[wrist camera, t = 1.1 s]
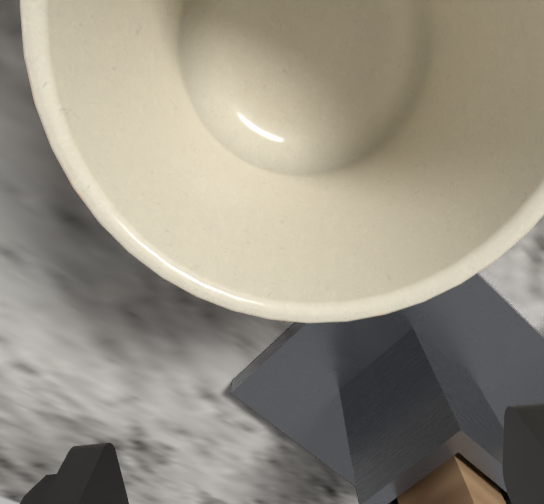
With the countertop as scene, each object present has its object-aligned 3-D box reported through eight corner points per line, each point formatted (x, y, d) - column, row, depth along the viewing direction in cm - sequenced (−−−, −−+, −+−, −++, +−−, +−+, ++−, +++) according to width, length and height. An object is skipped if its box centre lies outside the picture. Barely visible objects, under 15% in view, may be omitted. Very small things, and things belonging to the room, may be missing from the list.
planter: (503, -136, 27) (738, -321, 13) (437, 218, 34) (545, 338, 20) (129, -160, 27) (-29, -374, 13) (143, 201, 34) (50, 310, 20)
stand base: (414, 211, 34) (477, 289, 23) (579, 371, 38) (695, 499, 28) (232, 380, 39) (214, 509, 28) (396, 504, 43) (434, 656, 33)
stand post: (411, 352, 36) (505, 572, 21) (452, 388, 37) (569, 621, 22) (366, 390, 37) (424, 622, 22) (406, 424, 38) (488, 667, 23)
